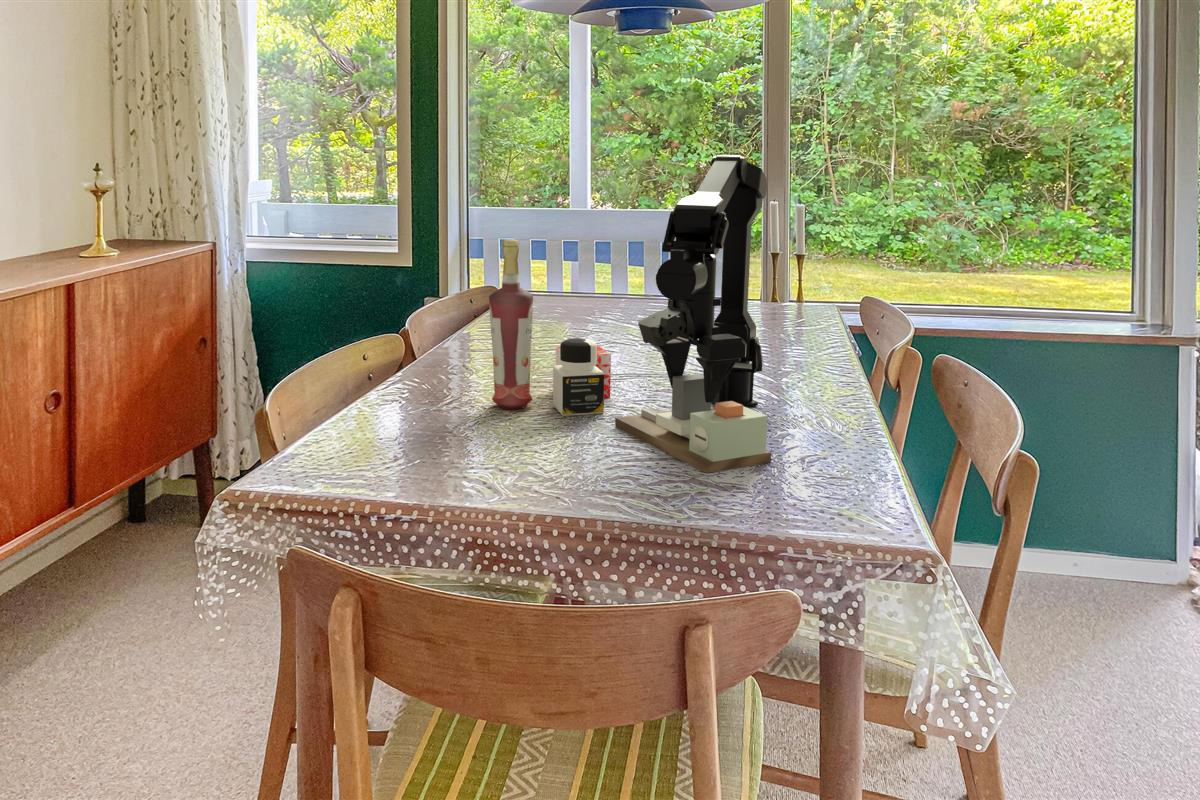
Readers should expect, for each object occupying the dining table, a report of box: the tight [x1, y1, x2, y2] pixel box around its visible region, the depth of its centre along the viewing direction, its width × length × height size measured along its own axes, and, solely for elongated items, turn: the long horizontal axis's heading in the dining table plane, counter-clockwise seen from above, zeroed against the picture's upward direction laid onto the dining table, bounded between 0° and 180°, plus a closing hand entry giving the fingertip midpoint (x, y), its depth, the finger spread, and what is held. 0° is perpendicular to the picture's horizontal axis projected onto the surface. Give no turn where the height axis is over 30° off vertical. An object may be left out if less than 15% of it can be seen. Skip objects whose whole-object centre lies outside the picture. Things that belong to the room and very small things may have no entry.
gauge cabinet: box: [689, 406, 769, 462], centre depth 149 cm, size 9×6×6 cm, turn 118°
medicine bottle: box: [552, 337, 605, 417], centre depth 175 cm, size 7×7×12 cm
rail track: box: [614, 407, 772, 474], centre depth 158 cm, size 11×26×2 cm, turn 28°
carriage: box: [656, 372, 712, 439], centre depth 156 cm, size 8×7×8 cm
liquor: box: [488, 239, 534, 411], centre depth 175 cm, size 7×7×28 cm
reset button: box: [714, 401, 743, 419], centre depth 148 cm, size 3×3×4 cm
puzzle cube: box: [555, 344, 612, 399], centre depth 187 cm, size 8×8×8 cm
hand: (691, 395), depth 156 cm, fingers open, 9 cm apart
